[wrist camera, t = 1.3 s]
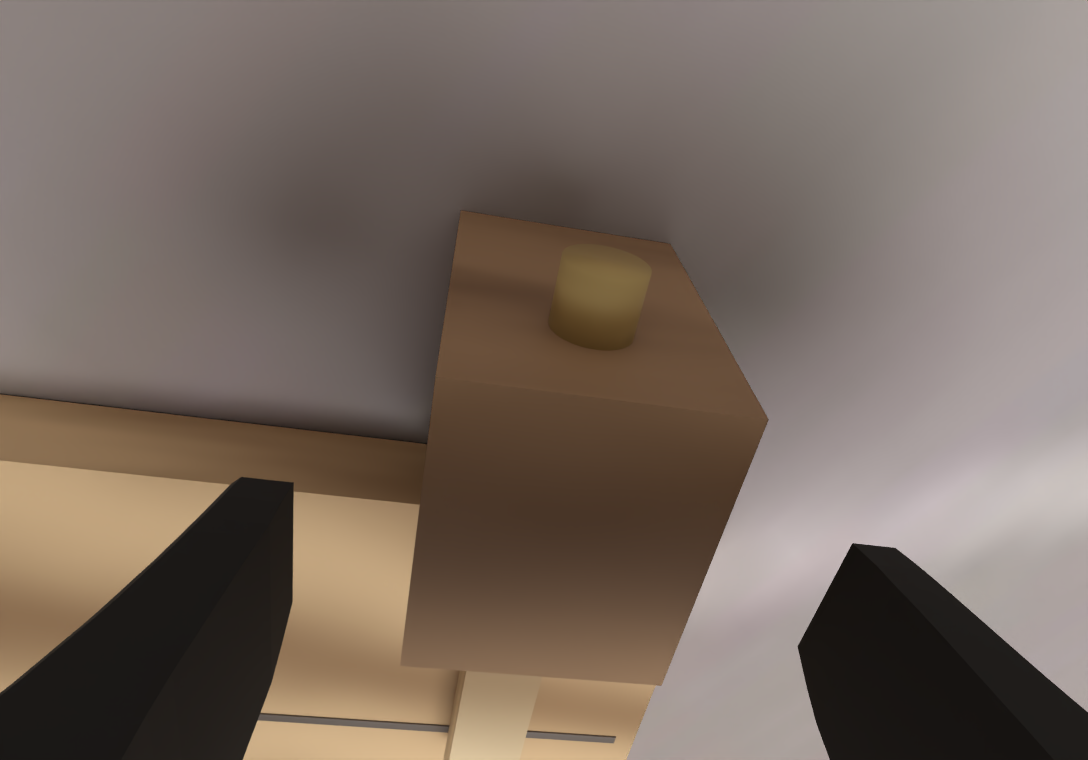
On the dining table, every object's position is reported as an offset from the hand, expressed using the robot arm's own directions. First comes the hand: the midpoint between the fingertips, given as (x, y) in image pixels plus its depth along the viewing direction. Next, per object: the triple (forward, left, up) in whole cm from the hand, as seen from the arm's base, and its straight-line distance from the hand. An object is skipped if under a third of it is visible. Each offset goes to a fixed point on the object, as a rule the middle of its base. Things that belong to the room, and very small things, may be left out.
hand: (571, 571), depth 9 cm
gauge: (-3, 0, -6) cm, 7 cm away
